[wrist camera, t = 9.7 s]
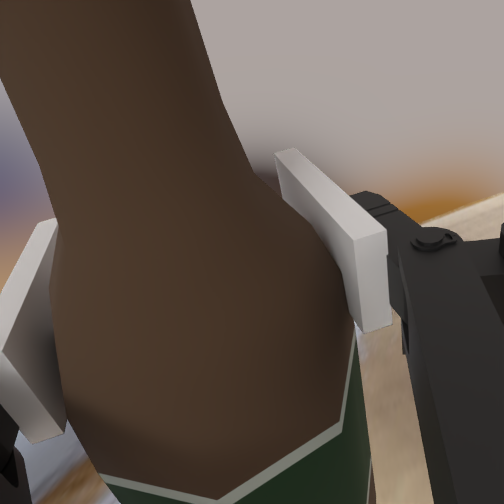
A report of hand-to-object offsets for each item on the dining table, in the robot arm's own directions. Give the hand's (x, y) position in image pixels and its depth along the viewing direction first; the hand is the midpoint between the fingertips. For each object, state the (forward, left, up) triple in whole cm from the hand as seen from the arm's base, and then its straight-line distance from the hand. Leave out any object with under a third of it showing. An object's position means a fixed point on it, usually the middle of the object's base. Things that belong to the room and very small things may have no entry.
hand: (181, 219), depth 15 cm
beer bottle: (+4, -2, -13) cm, 14 cm away
